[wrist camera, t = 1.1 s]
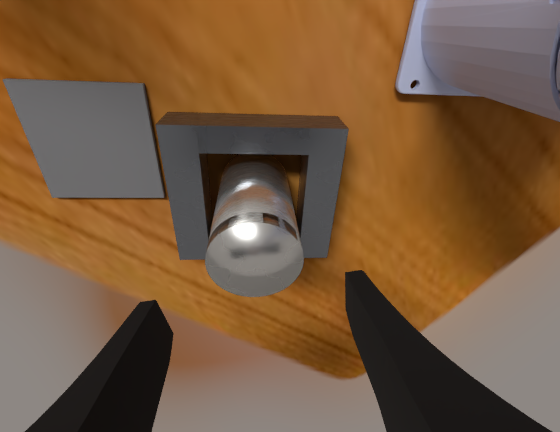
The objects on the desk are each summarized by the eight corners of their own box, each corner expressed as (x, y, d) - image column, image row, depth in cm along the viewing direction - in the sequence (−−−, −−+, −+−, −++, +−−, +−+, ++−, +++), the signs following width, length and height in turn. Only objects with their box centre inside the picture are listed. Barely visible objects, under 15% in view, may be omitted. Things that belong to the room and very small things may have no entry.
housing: (337, 116, 18) (348, 128, 16) (320, 235, 23) (326, 257, 21) (167, 111, 17) (155, 124, 15) (186, 237, 22) (179, 259, 20)
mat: (144, 83, 16) (142, 84, 16) (165, 195, 20) (164, 197, 20) (6, 78, 16) (2, 79, 16) (54, 195, 20) (52, 197, 19)
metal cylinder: (289, 151, 19) (308, 222, 12) (285, 210, 22) (299, 295, 15) (219, 150, 19) (200, 222, 12) (223, 210, 21) (209, 298, 14)
